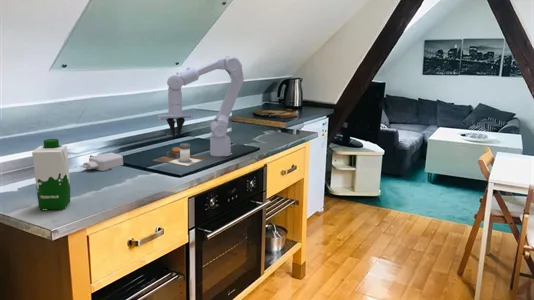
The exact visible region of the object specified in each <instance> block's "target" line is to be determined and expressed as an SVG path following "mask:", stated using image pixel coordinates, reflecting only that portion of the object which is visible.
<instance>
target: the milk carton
mask: <svg viewBox="0 0 534 300" xmlns="http://www.w3.org/2000/svg"><path fill="white" fill-rule="evenodd" d="M59 142H60V141H59V139H57V138H48V139H47V138H46V139H44V140H43V145H40V146H38V147H36V148H34V150H33V151H31V154H32V162H33V170H34V177H35V188H36V195H37V203H38V210H39V209H40V210H42V211H44V210H43V209H64V210H66V208H67V207H68V205H69V204H70V202H71V181H70V169H69V168H70V167H69V157H68V148H67V147H68V146H67V145H60V143H59ZM68 203H69V204H68ZM66 206H67V207H66ZM65 207H66V208H65Z"/></svg>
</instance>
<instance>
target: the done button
mask: <svg viewBox="0 0 534 300" xmlns="http://www.w3.org/2000/svg"><path fill="white" fill-rule="evenodd" d="M172 150H173V152H174V153H179V152H180V146H175V147H172Z"/></svg>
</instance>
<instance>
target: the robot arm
mask: <svg viewBox="0 0 534 300" xmlns="http://www.w3.org/2000/svg"><path fill="white" fill-rule="evenodd" d="M215 70H223V71H226V72H227V74H228V75H229V78H230V83H229V85H228V87H227V90H226V93H225V95H224V98H223V100H222V103H221V106H220V107H219V109H218V113H217V114H216V116H215V117H214V119H213V120H212V121H211V122H210V124H209V130H210V131H211V134H210V135H209V136H210V138H209V140H210V141H209V143H210V144H209V146H210V147H209V149H210V152H209V154H210V156H213V157H228V156H229V157H230V156H232V155H233V153H232V151H231V150H232V149H231V148H232V147H231V146H232V145H231V144H232V143H231V138H230V136H229V135H227V133H228V125H229V119H230V115H231V113H232V110H233V107H234V105H235V103H236V100H237V98H238V97H239V92H240V90H241V88H242V86H243V83H244V80H245V79H244V73H243V64H242V63H241V61H240V60H239V59H238V57H236V56H231V55H227V56H225V57H220V58H217V59H215V60H213V61H210V62H208V63H206V64H204V65H201V66H199V67H198V68H195V67H193V66H192V67H189V66H188V67H187V68H186V69H185V70H183V71H180V72H179V71H178V72H176V73H175V74H172V75H170V76H168V78H167V80H166V84H167V86H168V88H167V91H168V93H167V105H168V106H167V107H168V113H165V114H158V115H157V120H158V121H162V120H163V121H164V120H166V123H167V124H168V126H169V130H170V132H171V136H172V137H175V136H176V135H177V136H179V137H181V132H182V128H183V125H184V124H185V122H186V119H193V118H194V117H193V116H194V115H193V113H191V112H190V113H189V112H188V113H187V112H186V113H185V112H184V113H183V93H182V87H183V86H188V85H189V84H192V83H194V82H196V81H199V77H200V76H202V75H205V74H208V73H211V72H213V71H215ZM175 126H176V132H175Z"/></svg>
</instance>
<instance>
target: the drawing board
mask: <svg viewBox="0 0 534 300" xmlns="http://www.w3.org/2000/svg"><path fill="white" fill-rule="evenodd" d="M208 159H209V158H208V157H202V156H197V155H191V154H190V161H189V162H181V161H180V152H179V153H174V152H173V149H171V150H169V151H166V155H164V156H161V157H158V158H155V159H152V161H153V162H159V163H165V164H170V165H171V164H172V165H175V166H182V167H190V166H192V165H195V164H198V163H200V162H203V161H206V160H208Z"/></svg>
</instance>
